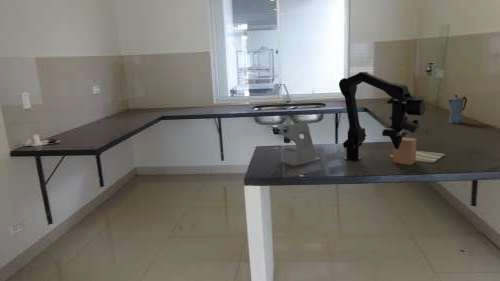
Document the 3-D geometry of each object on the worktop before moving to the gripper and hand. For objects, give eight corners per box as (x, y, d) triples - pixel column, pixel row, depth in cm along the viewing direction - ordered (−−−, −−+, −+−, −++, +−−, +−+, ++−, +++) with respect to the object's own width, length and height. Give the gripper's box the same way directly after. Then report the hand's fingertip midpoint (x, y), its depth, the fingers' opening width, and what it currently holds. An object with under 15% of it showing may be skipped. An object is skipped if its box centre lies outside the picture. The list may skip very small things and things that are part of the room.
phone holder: (293, 165, 175) (292, 128, 171) (280, 161, 183) (279, 125, 179) (321, 159, 184) (320, 123, 180) (307, 155, 192) (307, 121, 188)
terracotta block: (410, 164, 168) (411, 141, 165) (393, 162, 173) (393, 139, 171) (415, 162, 172) (416, 138, 170) (398, 159, 177) (399, 137, 175)
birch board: (432, 163, 168) (432, 162, 168) (389, 157, 182) (389, 156, 182) (444, 155, 181) (444, 154, 181) (403, 150, 194) (403, 149, 194)
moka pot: (442, 122, 268) (443, 94, 264) (458, 120, 272) (460, 93, 268) (452, 124, 259) (454, 95, 255) (470, 122, 264) (472, 94, 259)
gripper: (409, 118, 149) (407, 155, 152) (425, 112, 162) (423, 147, 166) (382, 116, 157) (381, 152, 160) (399, 111, 170) (398, 144, 173)
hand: (397, 149), depth 164 cm, fingers closed
